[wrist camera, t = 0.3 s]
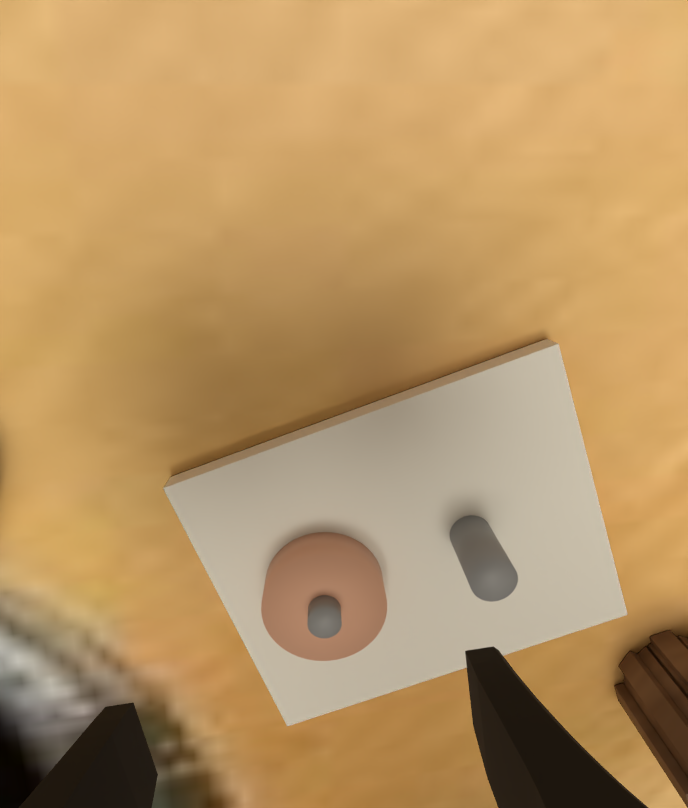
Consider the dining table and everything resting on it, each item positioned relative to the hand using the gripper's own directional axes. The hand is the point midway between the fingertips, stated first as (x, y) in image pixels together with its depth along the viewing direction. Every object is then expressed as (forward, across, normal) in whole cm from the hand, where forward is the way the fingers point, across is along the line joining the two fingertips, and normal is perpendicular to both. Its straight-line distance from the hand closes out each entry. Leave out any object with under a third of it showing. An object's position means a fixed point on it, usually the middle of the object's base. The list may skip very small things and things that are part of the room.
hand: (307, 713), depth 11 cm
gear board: (+10, -3, +2) cm, 11 cm away
